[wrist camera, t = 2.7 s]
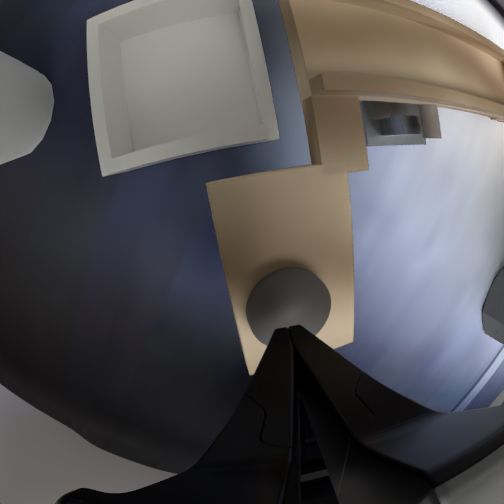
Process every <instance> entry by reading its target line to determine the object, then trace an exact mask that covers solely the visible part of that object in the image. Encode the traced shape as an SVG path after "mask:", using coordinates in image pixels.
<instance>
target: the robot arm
mask: <svg viewBox="0 0 504 504" xmlns="http://www.w3.org/2000/svg"><path fill="white" fill-rule="evenodd" d="M298 389H299V392H300V395H301V398H302V401H299V396H298ZM55 504H504V405H499V406H494V407H488V408H482V409H475V410H468V411H459V412H440V411H436V410H433V409H430V408H428V407H426V406H424V405H422V404H420V403H418V402H416V401H414V400H412V399H410V398H408V397H406V396H404V395H402V394H400V393H398V392H396V391H395V390H393V389H391V388H389V387H387V386H386V385H384V384H382V383H381V382H379V381H378V380H376V379H375V378H373V377H372V376H370V375H369V374H367V373H366V372H365V371H362V369H360V368H359V367H357V366H356V365H355V364H353V363H352V362H351V361H349V360H348V359H346V358H345V357H344V356H342V355H341V354H340V353H338V352H337V351H335V350H334V349H333V348H331V347H330V346H329V345H327V344H326V343H325V342H323V341H322V340H320V339H319V338H318V337H316V336H315V335H314V334H312V333H311V332H310V331H308V330H307V329H306V328H304V327H303V326H302V325H294V326H289V327H288V328H287V327H283V328H277V329H275V330H274V332H273V334H272V336H271V339H270V341H269V343H268V345H267V347H266V349H265V352H264V354H263V356H262V358H261V360H260V362H259V364H258V366H257V368H256V371H255V373H254V375H253V377H252V379H251V381H250V383H249V385H248V387H247V389H246V391H245V393H244V395H243V397H242V399H241V401H240V403H239V405H238V407H237V408H236V410H235V412H234V414H233V415H232V417H231V418H230V420H229V421H228V423H227V424H226V426H225V427H224V429H223V430H222V431H221V433H220V434H219V435H218V437H217V438H216V439H215V441H214V442H213V443H212V445H211V446H210V447H209V448H208V450H207V451H206V452H205V454H204V455H203V456H202V457H201V459H200V460H199V461H198V462H197V463H196V464H195V465H194V466H192V467H191V468H190V469H188V470H187V471H185V472H182V473H180V474H178V475H175V476H173V477H170V478H168V479H165V480H163V481H160V482H157V483H155V484H152V485H149V486H147V487H144V488H141V489H138V490H135V491H131V492H126V493H104V492H100V491H96V490H92V489H88V488H80V489H77V490H74V491H71V492H69V493H67V494H65V495H63V496H61V497H60V498H59V499H58V500H57V501H56V503H55Z"/></svg>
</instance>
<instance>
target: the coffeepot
mask: <svg viewBox="0 0 504 504" xmlns="http://www.w3.org/2000/svg"><path fill="white" fill-rule="evenodd" d="M482 322H483V326H484V329H485V334H487V335H489V336H490V337H492V338H494V339H495V340H497V341H499V342H500V343H502V344H504V267H503V268H502V269H501V270H500V272H499V273H498V275H497V277H496V278H495V280H494V282H493V284H492V286H491V288H490V290H489V292H488V295H487V298H486V300H485V304H484V308H483V313H482Z"/></svg>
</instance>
